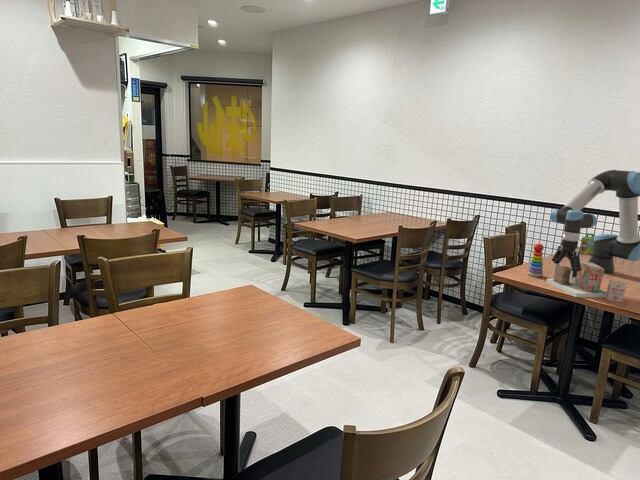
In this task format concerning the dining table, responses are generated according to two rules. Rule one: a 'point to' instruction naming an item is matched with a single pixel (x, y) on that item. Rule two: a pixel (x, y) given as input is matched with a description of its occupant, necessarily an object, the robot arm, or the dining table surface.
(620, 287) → the white red printed box
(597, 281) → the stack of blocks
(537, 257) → the stacking toy
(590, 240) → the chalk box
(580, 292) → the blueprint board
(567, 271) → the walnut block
